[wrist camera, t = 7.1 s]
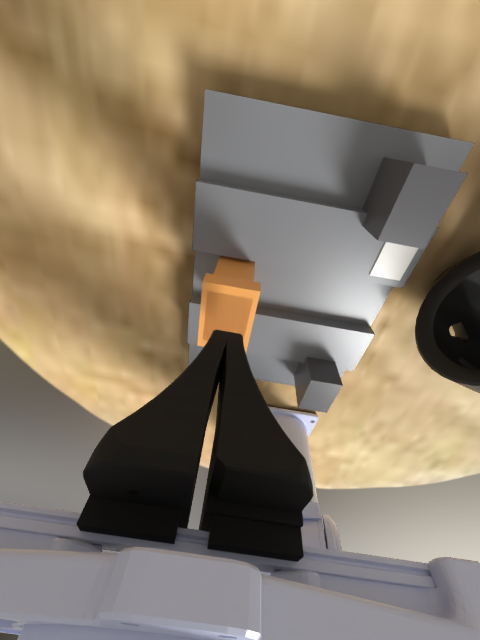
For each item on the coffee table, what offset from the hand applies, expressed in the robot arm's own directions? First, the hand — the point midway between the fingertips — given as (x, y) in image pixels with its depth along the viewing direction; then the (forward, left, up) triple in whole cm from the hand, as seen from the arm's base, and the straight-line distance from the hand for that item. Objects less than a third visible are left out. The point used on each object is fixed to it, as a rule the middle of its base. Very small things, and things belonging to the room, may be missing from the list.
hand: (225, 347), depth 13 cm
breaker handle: (0, 0, -7) cm, 7 cm away
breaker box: (0, -4, -10) cm, 10 cm away
